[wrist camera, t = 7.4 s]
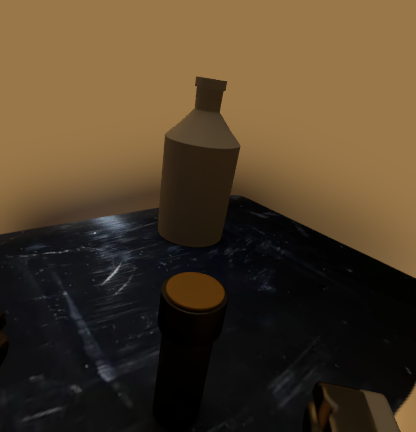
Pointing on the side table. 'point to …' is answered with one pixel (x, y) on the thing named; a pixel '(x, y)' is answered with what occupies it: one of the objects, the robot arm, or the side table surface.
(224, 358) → the side table surface
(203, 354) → the torch
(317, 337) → the side table surface
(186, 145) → the bottle
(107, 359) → the side table surface
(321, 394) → the robot arm
